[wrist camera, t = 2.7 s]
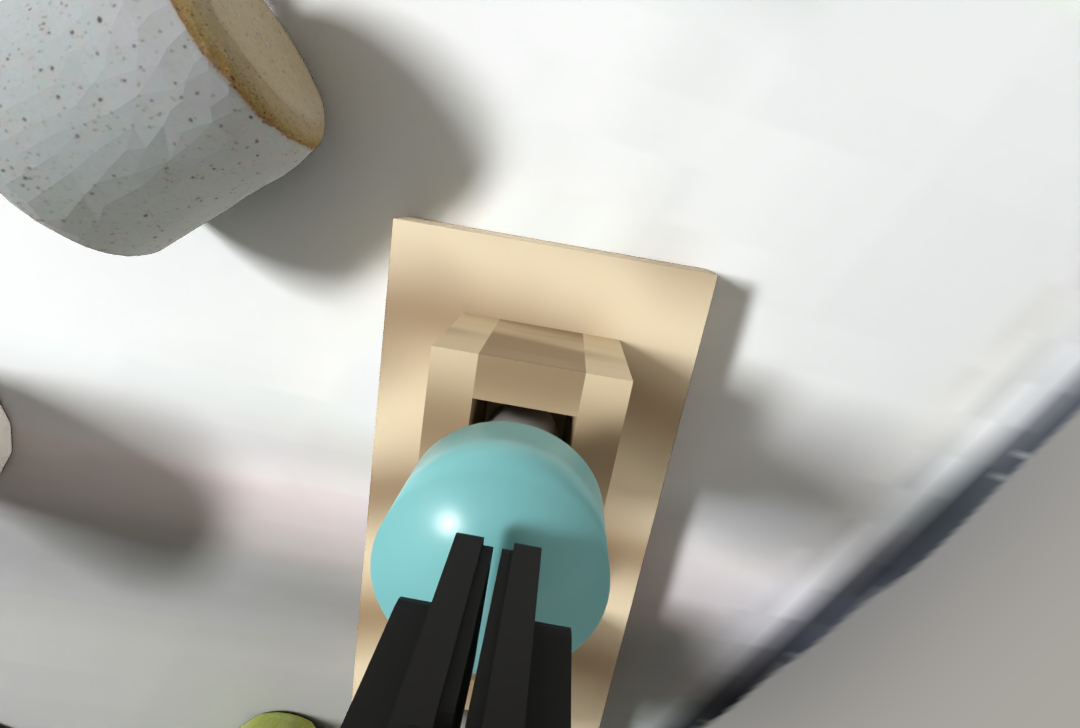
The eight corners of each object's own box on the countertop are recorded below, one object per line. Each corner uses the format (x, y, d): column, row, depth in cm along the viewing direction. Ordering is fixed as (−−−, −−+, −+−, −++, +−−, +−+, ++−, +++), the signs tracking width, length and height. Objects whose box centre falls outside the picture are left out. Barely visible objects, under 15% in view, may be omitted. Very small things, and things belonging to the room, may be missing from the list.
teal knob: (580, 510, 19) (584, 693, 12) (440, 484, 19) (361, 653, 12) (609, 376, 18) (633, 495, 11) (457, 349, 18) (380, 449, 11)
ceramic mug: (368, 152, 21) (258, 121, 14) (206, 252, 23) (29, 272, 15) (207, -133, 19) (-27, -349, 12) (38, -2, 21) (-262, -121, 13)
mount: (589, 722, 29) (594, 880, 22) (365, 681, 29) (302, 826, 22) (704, 269, 22) (763, 299, 15) (408, 216, 22) (336, 223, 15)
